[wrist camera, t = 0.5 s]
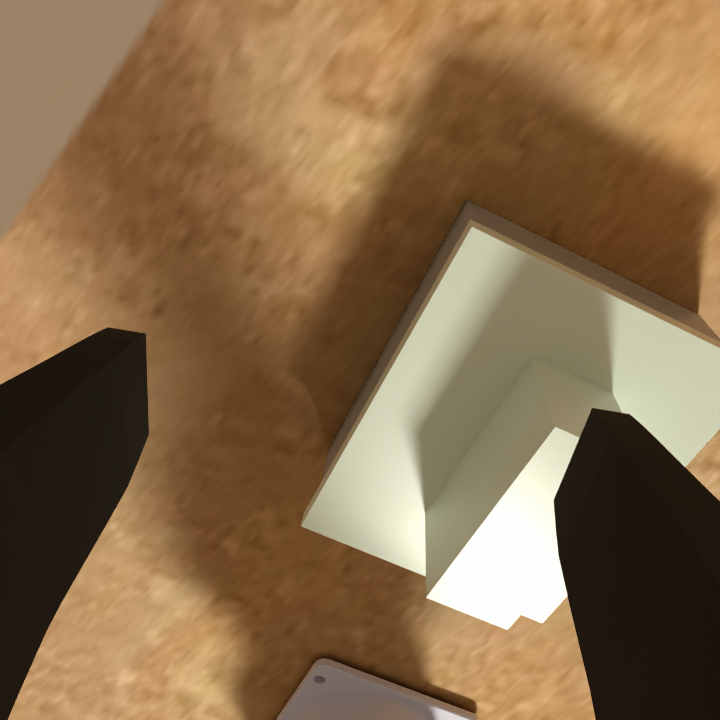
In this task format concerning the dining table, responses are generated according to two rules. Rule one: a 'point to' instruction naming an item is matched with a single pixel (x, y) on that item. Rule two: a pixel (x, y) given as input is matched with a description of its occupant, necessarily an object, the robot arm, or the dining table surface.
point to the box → (532, 242)
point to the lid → (505, 423)
